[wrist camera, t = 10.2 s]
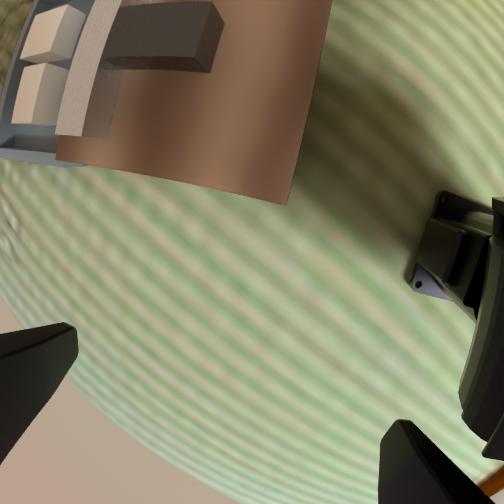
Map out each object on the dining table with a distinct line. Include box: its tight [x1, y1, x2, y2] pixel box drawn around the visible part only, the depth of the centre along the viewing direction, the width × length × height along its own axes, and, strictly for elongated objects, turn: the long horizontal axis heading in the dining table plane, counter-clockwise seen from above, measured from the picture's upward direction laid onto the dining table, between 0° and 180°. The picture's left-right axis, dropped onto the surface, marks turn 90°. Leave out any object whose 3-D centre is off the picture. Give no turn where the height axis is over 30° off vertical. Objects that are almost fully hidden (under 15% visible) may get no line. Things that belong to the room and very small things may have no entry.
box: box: [0, 0, 95, 167], centre depth 16 cm, size 10×15×2 cm, turn 168°
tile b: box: [11, 63, 70, 126], centre depth 15 cm, size 4×4×2 cm
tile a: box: [20, 4, 86, 64], centre depth 14 cm, size 4×4×2 cm
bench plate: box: [55, 0, 332, 206], centre depth 14 cm, size 14×14×4 cm
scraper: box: [55, 0, 225, 139], centre depth 11 cm, size 2×11×7 cm
